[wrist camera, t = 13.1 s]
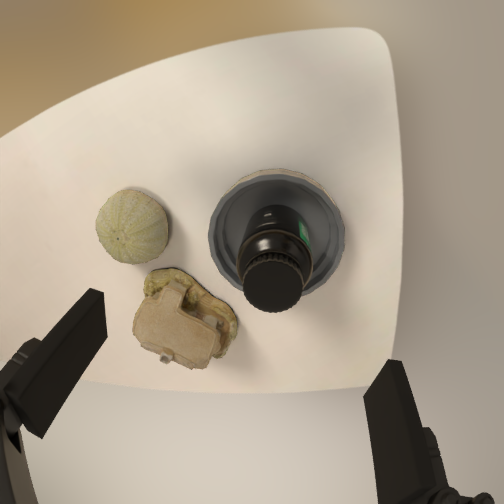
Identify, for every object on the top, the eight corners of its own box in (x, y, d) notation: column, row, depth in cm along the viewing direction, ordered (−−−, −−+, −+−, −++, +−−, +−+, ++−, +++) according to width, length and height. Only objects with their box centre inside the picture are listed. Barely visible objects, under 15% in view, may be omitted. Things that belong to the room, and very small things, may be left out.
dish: (254, 143, 32) (250, 147, 29) (363, 212, 34) (371, 223, 30) (195, 248, 37) (187, 261, 34) (295, 303, 39) (295, 319, 36)
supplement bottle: (308, 202, 33) (319, 247, 22) (306, 260, 36) (314, 323, 25) (245, 203, 34) (225, 247, 23) (247, 259, 37) (232, 322, 26)
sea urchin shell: (173, 270, 37) (110, 285, 32) (148, 244, 42) (94, 254, 37) (176, 197, 33) (105, 205, 28) (150, 180, 38) (90, 186, 33)
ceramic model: (134, 315, 43) (104, 360, 34) (154, 255, 38) (119, 297, 29) (220, 356, 45) (206, 408, 35) (253, 303, 40) (244, 356, 31)
